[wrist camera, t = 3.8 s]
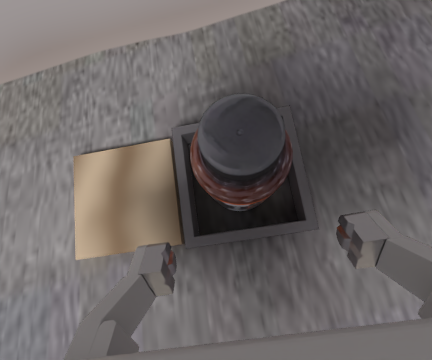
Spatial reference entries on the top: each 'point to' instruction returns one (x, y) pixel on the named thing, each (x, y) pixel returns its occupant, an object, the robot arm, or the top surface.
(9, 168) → the top surface
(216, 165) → the supplement bottle
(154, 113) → the top surface
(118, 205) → the coaster
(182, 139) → the holder
